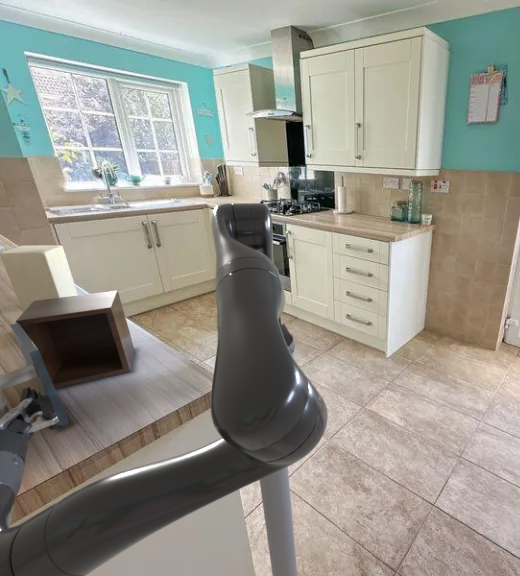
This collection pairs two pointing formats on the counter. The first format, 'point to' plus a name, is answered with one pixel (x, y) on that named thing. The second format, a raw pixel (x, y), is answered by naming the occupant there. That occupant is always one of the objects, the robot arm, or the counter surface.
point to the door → (31, 375)
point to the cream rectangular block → (38, 273)
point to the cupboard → (80, 336)
